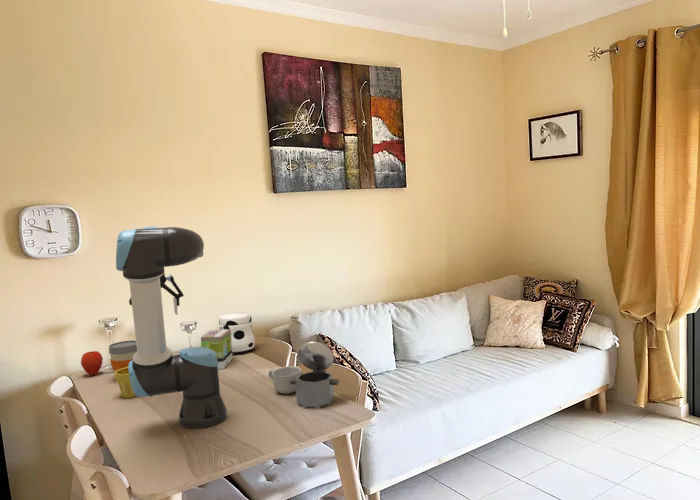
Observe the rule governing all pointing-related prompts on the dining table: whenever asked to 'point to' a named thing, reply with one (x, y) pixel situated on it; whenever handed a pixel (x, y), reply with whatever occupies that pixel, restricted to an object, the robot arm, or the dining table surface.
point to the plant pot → (124, 382)
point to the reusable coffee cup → (122, 354)
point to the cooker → (315, 389)
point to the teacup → (284, 378)
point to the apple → (91, 362)
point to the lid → (315, 356)
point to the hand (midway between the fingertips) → (158, 316)
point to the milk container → (238, 330)
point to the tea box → (219, 345)
